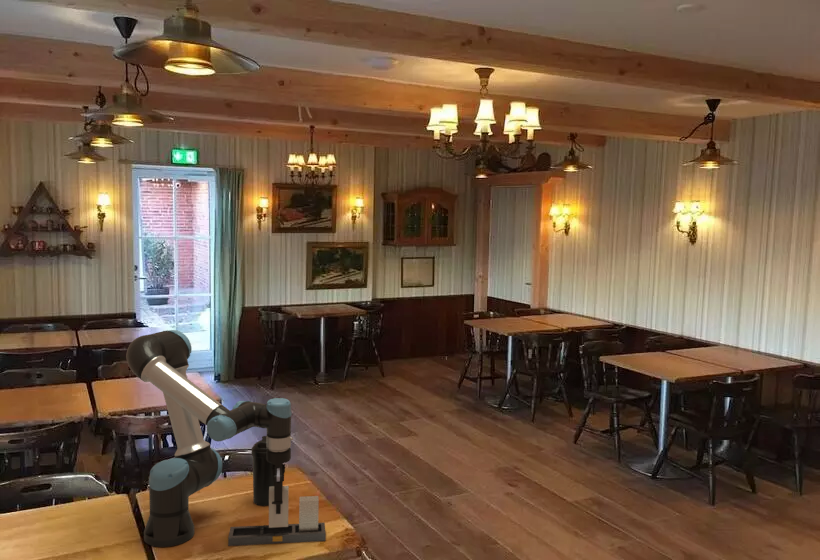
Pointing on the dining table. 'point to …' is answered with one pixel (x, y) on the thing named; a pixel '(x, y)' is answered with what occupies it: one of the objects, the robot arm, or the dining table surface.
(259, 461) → the water bottle
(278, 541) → the rack
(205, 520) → the dining table surface
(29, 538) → the dining table surface
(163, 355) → the robot arm
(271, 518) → the block
